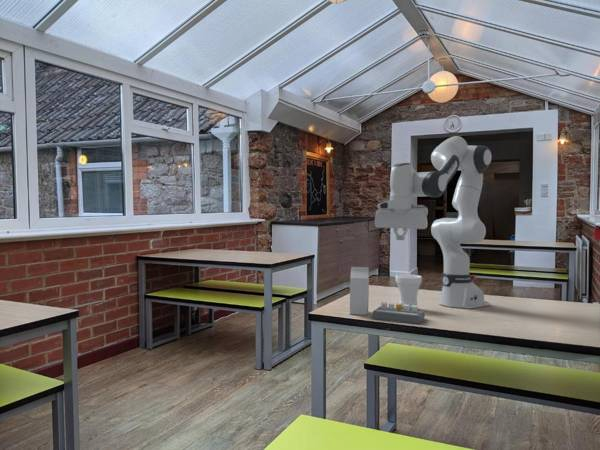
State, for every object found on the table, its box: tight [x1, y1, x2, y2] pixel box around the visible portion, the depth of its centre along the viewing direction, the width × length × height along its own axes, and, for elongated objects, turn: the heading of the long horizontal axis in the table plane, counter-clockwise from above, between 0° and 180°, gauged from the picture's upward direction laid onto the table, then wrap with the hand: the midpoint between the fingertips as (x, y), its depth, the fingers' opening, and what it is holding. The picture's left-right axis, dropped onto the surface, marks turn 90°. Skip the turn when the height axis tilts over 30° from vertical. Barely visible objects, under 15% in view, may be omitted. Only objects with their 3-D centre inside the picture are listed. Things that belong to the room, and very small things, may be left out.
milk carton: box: [349, 266, 370, 316], centre depth 201 cm, size 7×7×19 cm
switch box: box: [372, 301, 426, 325], centre depth 192 cm, size 18×10×6 cm, turn 64°
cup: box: [395, 273, 423, 310], centre depth 210 cm, size 11×11×14 cm
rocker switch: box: [395, 303, 402, 311], centre depth 192 cm, size 2×1×2 cm, turn 65°
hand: (400, 240), depth 191 cm, fingers closed
